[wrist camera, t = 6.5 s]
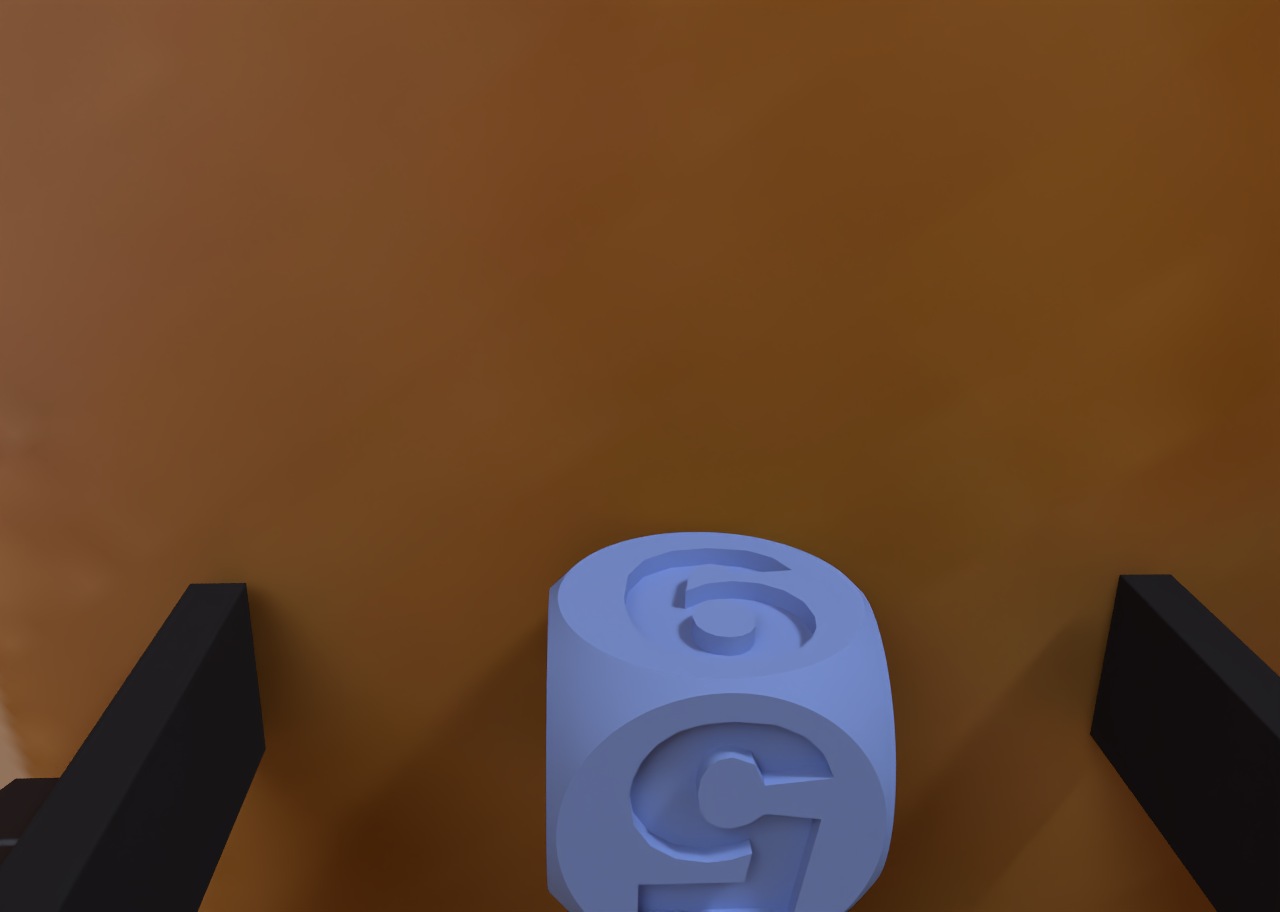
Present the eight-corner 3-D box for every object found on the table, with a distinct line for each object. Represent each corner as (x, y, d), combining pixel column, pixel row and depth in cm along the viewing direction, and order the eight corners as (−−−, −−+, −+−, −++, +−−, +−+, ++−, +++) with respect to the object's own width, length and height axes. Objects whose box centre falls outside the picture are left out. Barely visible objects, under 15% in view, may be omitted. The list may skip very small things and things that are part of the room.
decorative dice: (552, 769, 17) (547, 974, 14) (551, 528, 16) (544, 685, 12) (813, 765, 18) (878, 967, 14) (836, 528, 16) (914, 682, 12)
